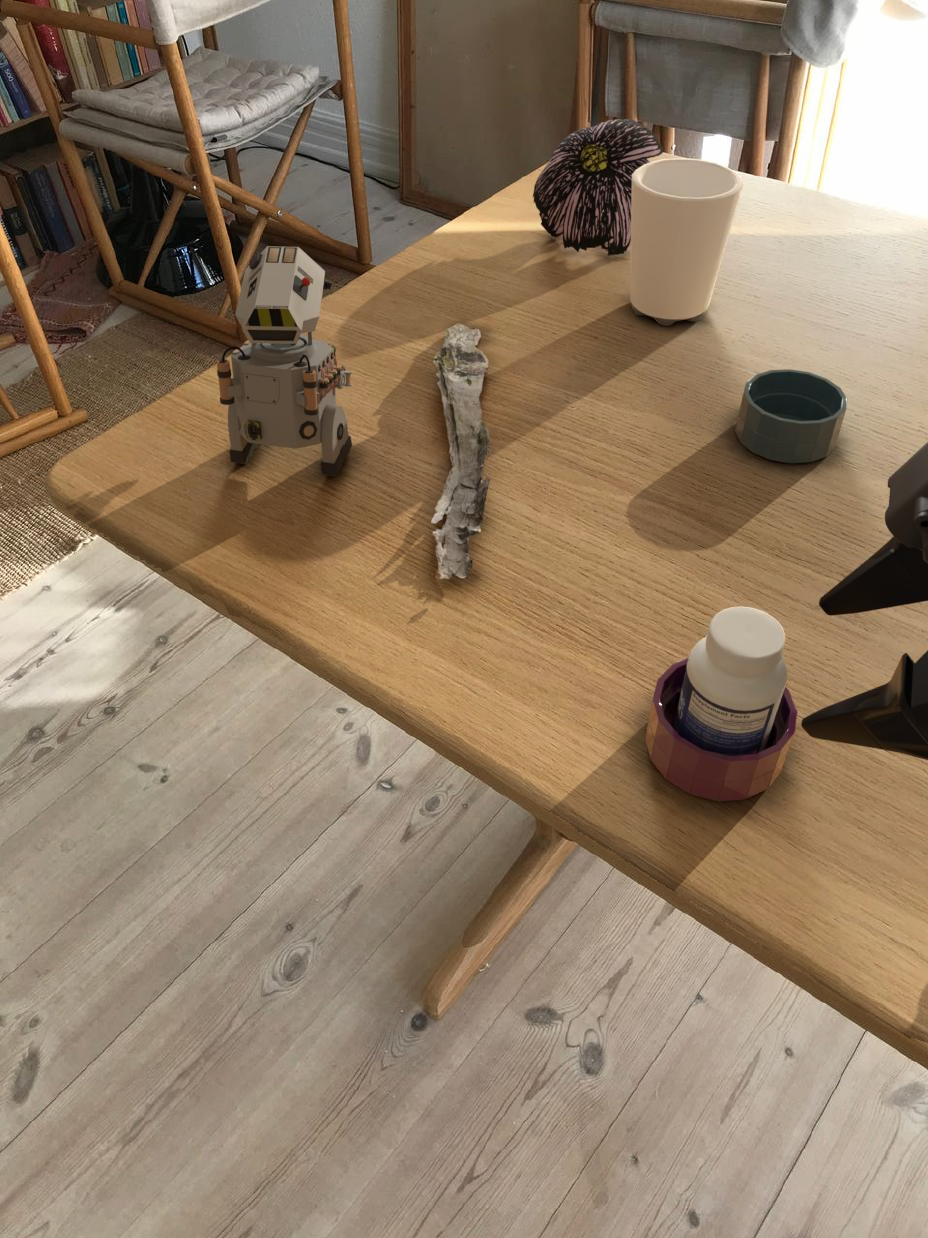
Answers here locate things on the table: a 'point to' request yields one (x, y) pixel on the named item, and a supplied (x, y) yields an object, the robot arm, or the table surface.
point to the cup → (679, 235)
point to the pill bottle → (733, 683)
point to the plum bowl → (710, 769)
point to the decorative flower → (594, 184)
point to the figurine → (284, 363)
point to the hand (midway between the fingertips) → (814, 664)
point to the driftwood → (461, 449)
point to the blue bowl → (790, 415)
